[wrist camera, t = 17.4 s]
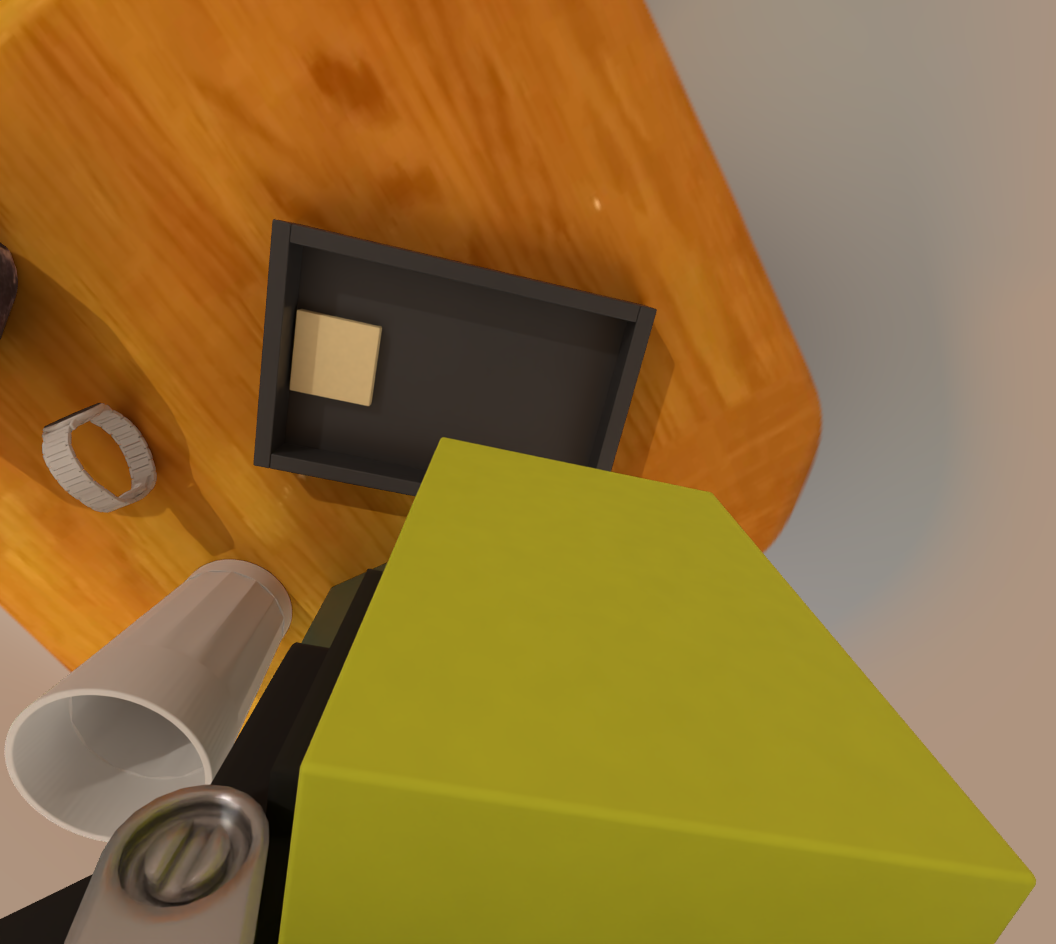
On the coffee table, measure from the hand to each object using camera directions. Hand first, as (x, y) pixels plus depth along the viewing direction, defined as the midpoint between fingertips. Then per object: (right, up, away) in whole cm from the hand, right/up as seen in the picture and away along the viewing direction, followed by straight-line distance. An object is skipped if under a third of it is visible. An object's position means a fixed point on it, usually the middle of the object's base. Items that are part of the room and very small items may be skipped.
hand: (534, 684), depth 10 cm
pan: (-4, +8, +21) cm, 23 cm away
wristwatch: (-21, +5, +22) cm, 31 cm away
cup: (-17, -4, +26) cm, 31 cm away
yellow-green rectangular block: (0, 0, +1) cm, 1 cm away
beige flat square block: (-10, +9, +20) cm, 24 cm away
